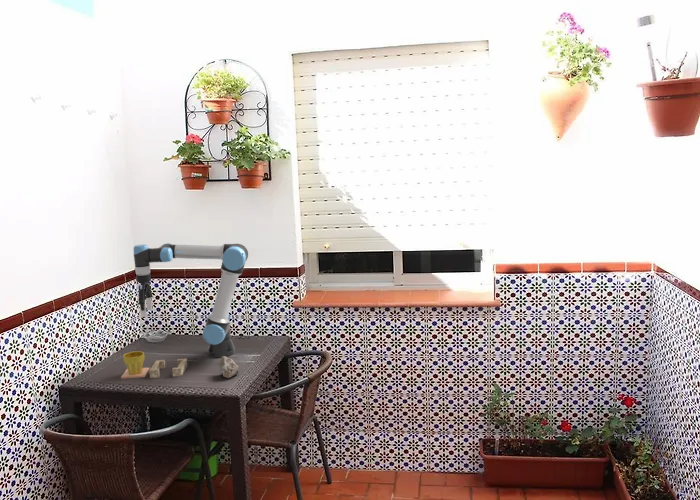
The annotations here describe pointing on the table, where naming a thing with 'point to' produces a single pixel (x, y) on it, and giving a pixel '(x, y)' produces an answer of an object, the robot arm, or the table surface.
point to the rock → (228, 367)
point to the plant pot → (134, 361)
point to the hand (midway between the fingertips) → (146, 313)
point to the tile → (142, 374)
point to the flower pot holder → (161, 364)
